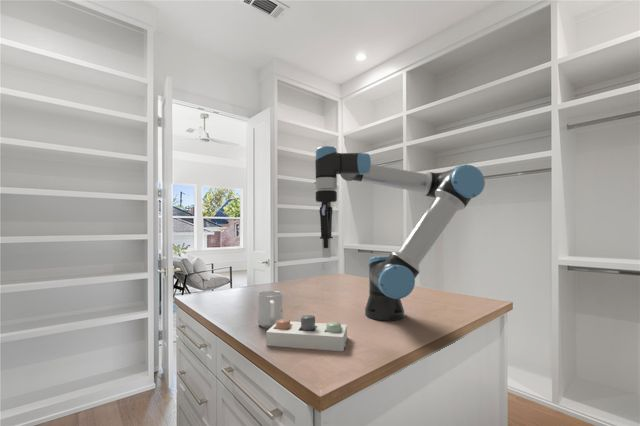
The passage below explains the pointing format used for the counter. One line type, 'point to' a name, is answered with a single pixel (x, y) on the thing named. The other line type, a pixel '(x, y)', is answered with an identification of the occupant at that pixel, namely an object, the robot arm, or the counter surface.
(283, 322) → the button terracotta
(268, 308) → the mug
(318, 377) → the counter surface
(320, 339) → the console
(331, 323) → the button sage
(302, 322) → the button charcoal
